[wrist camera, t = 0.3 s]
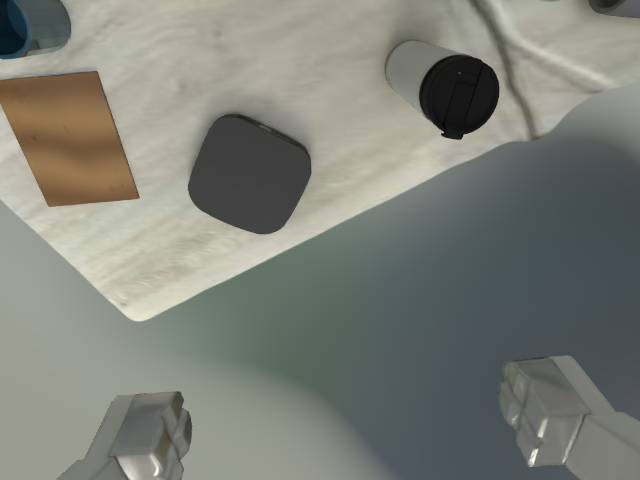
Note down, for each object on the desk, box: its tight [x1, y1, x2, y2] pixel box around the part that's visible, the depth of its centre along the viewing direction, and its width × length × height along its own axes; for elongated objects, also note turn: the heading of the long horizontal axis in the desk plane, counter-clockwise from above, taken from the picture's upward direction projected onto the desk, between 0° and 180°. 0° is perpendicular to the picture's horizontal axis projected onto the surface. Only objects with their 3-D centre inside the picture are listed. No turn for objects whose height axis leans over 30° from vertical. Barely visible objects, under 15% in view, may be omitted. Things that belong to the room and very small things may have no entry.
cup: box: [0, 0, 71, 59], centre depth 43 cm, size 7×7×8 cm
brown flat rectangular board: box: [0, 71, 139, 207], centre depth 53 cm, size 17×13×1 cm
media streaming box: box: [188, 114, 311, 234], centre depth 55 cm, size 15×15×3 cm
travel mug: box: [385, 40, 499, 140], centre depth 42 cm, size 6×7×20 cm
